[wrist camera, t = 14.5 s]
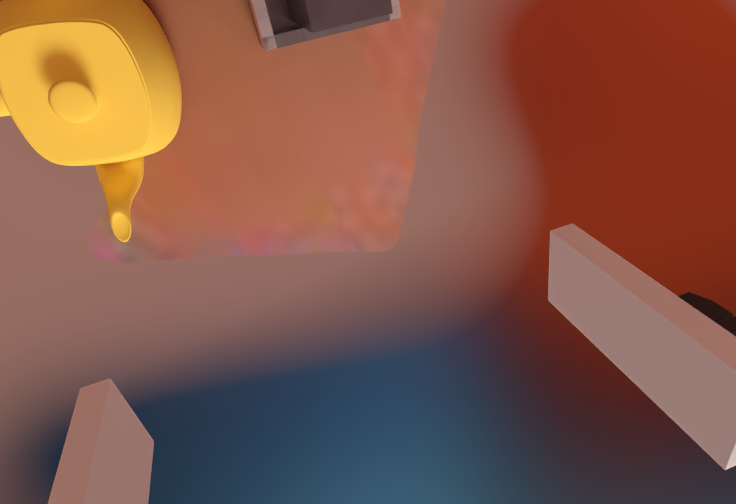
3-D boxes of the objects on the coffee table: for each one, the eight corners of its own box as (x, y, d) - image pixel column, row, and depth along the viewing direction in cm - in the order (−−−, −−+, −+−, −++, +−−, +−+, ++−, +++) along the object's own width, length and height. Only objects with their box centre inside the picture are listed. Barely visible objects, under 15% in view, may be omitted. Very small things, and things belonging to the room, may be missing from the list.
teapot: (-102, -80, 33) (-212, -96, 24) (139, -92, 36) (119, -110, 27) (35, 209, 45) (-6, 270, 36) (208, 180, 48) (210, 229, 39)
